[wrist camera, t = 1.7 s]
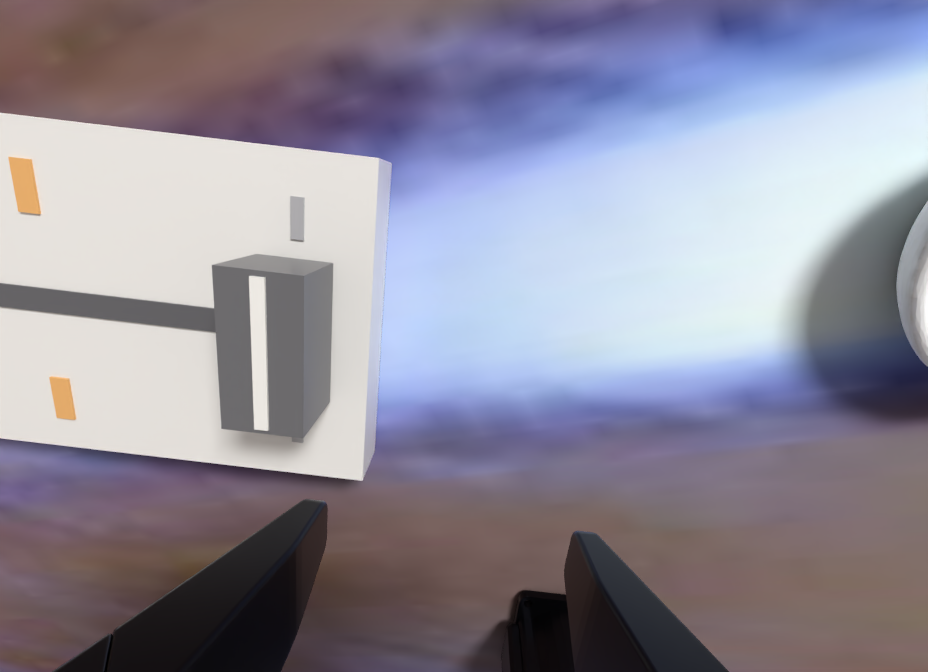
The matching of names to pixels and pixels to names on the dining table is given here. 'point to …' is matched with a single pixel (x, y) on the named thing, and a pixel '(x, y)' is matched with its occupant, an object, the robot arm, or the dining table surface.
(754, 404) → the dining table surface
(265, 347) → the fader
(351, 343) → the console
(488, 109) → the dining table surface
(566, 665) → the robot arm
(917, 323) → the spoon rest
